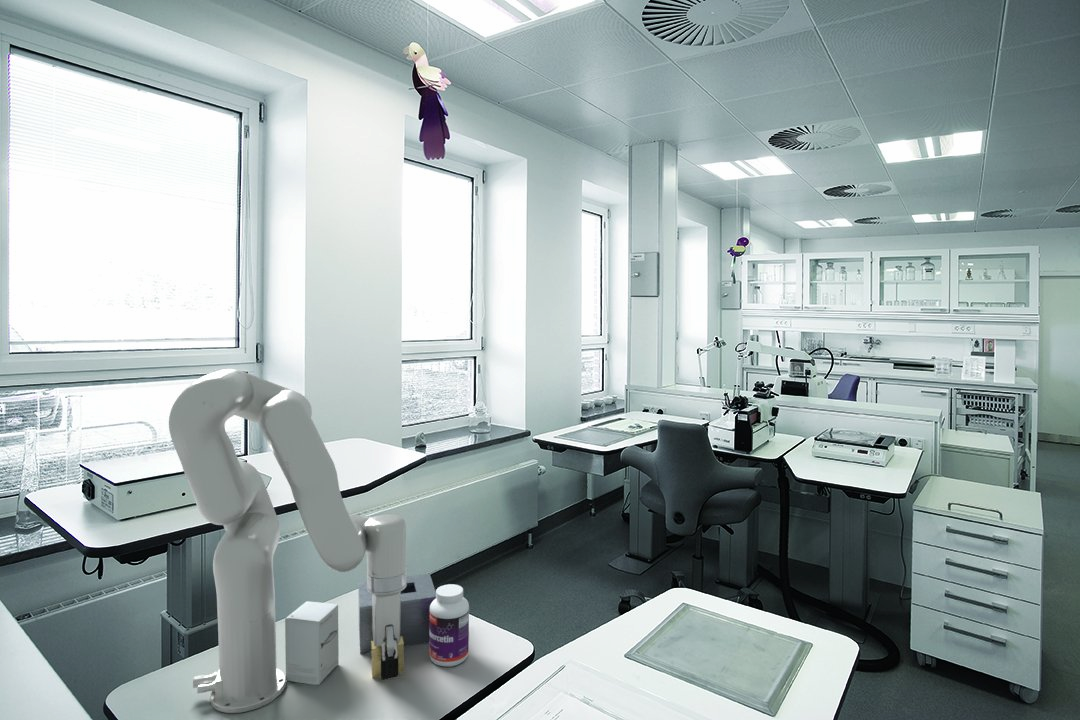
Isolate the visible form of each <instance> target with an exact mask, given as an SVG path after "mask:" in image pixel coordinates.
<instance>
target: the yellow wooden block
mask: <svg viewBox="0 0 1080 720" xmlns="http://www.w3.org/2000/svg"><path fill="white" fill-rule="evenodd" d="M386 641H387V639H384V642H386ZM404 649H405V648H404V643H403V637H402V636H400V641H399V642H398V643H397V656H398V675H400V674H405V665H404V664H405V660H404V659H405V654H404V653H405V651H404ZM386 650H387V646H385V651H386ZM370 653H371V678H372V679H376V678H377V679H378V678H381V658H382V646H378V647H376V646H375V645H374V642H373V641H371V652H370Z"/></svg>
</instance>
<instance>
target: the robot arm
mask: <svg viewBox="0 0 1080 720" xmlns="http://www.w3.org/2000/svg"><path fill="white" fill-rule="evenodd" d="M312 414H313V410H312V406H311V403H310V401H309V399H307V397H306V396H305V395H303V394H301V393H299V392H298V391H295V390H294V389H290V388H288V387H285V386H282V385H279V384H276V383H274V382H272V381H268V380H266V379H264V378H261V377H259V376H256V375H253V374H251V373H249V372H246V371H242V370H239V369H234V368H227V369H226V368H225V369H221V370H218V371H215V372H211V373H207V374H206V375H203V376H202V377H199V378H198V379H196V380H194V382H192V383H191V384H190V385H188V386H187V387H186V388H185V389H184V390H183V391H182V392H181V393H180V394H179V395H178V396H177V398H176V399H175V401H174V403H173V404H172V407H171V409H170V412H169V417H168V431H169V434H170V438H171V441H172V444H173V446H174V449H175V452H176V454H177V456H178V459H179V462H180V463H181V466H182V469H183V473H184V476H185V478H186V480H187V483H188V486H189V488H190V490H191V493H192V496H193V499H194V501H195V504H196V507H197V510H198V511H199V513H200V514H201V516H202V517H203V518H204V519H205V520H206V521H207V522H209V523H210V524H213V525H216V526H223V528H224V531H225V533H224V534H223V535H222V537H221V539H220V540H219V541H218V544H217V546H216V547H215V550H214V555H213V561H212V572H213V573H212V574H213V578H214V584H215V585H214V586H215V591H216V609H217V632H218V639H217V640H218V659H219V660H218V668H219V669H218V671H213V673H211V674H200V675H195V676H194V677H193V681H192V688H193V689H197V692H196V693H197V694H202V693H207V692H210V696H209V697H210V699H209V700H210V705H211V707H212V708H214V710H216V711H218V712H222V713H225V714H226V713H227V714H239V713H247V712H249V711H253V710H256V709H257V710H258V709H259V708H262V707H264V706H266V705H267V704H270V703H271V702H272V701H274V700H275V699H276V698H278V697H279V696H280V695H281V694H282V693H283V691H284V690H285V688H286V683H287V680H286V673H284V672H283V671H282V670H281V669H279V668H277V634H276V633H277V630H276V629H277V628H276V626H277V625H276V593H275V592H276V591H275V588H276V587H275V579H274V556H275V552H276V550H277V547H278V544H279V542H280V537H281V525H280V523H279V519H278V516H277V513H276V511H275V508H274V506H273V502H272V500H271V498H270V495H269V493H268V490H267V487H266V484H265V482H264V479H263V477H262V475H261V474H260V472H259V471H258V470H257V468H255V466H253V465H252V464H250V463H249V462H247V461H244V460H239V459H238V457H237V454H236V451H235V450H236V449H235V448H234V445H233V442H232V440H231V438H230V436H229V435H228V433H227V431H226V428H225V426H226V425H225V424H226V422H227V420H229V419H230V418H232V417H233V416H236V417H240V418H242V419H245V420H248V421H250V422H252V423H253V422H254V423H255V424H258V425H259V428H260V430H261V433H262V435H263V437H264V439H265V440H266V442H267V444H268V446H269V448H270V451H271V452H272V454H273V455H274V459H276V462H277V464H278V466H279V467H280V469H281V471H282V473H283V475H284V476H285V479H286V481H287V482H288V485H289V487H290V490H291V493H292V496H293V499H294V502H295V505H296V506H297V509H298V511H299V514H300V516H301V519H302V521H303V522H302V523H303V525H304V527H305V530H306V531H307V534H308V536H309V538H310V540H311V542H312V544H313V545H314V548H315V549H316V551H317V554H318V555H319V557H320V558H321V560H322V562H323V563H324V564H325V566H327V567H328V568H329V569H331V570H332V571H334V572H338V573H345V572H346V573H347V572H350V571H352V570H354V569H356V568H357V567H358V566H359V565H360V564H361V563H362V561H363V559H364V557H365V554H366V582H367V590H368V592H369V593H371V594H372V631H373V642H374V645H375V646H376V647H378V646H382V658H381V677H380V679H381V680H383V681H384V680H391V679H396V678H398V677H399V674H398V656H397V643H398V642H399V641H400V628H401V591H402V590H404V589H405V588H406V586H407V576H408V575H407V572H408V570H407V522H406V520H405V519H404V517H402V516H401V515H398V514H389V513H388V514H386V513H385V514H380V515H376V516H370V515H369V516H367V515H357V514H356V515H355V514H349V512H348V510H347V508H346V505H345V503H344V500H343V497H342V494H341V490H340V489H341V488H340V485H339V479H338V473H337V469H336V466H335V465H336V464H335V462H334V461H333V458H332V457H331V455H330V453H329V451H328V449H327V447H326V444H325V443H324V441H323V439H322V438H321V435H320V433H319V431H318V429H317V427H316V425H315V423H314V421H313V419H312V416H313V415H312ZM384 639H387V641H386V642H384ZM385 646H387V650H386V651H385Z"/></svg>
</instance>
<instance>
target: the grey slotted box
mask: <svg viewBox="0 0 1080 720" xmlns="http://www.w3.org/2000/svg"><path fill="white" fill-rule="evenodd" d="M357 585H358V589H357V591H358V635H359V636H358V637H359V638H358V639H359V652H360V653H359V654H366V653H371V641H373V631H372V594H371V593H369V592H368V590H367V581H361V582H358V584H357ZM435 599H436V588H435V586H434V583H433V580H432V577H431V574H430V573H425V574H424V573H423V574H415V575H407V586H406V588H405V589H404V590H402V591H401V628H400V636H402V637H403V643H404V647H410V646H416V645H417V646H418V645H422V644H429V627H430V605H431V603H432V601H433V600H435Z"/></svg>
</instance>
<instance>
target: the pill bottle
mask: <svg viewBox="0 0 1080 720" xmlns="http://www.w3.org/2000/svg"><path fill="white" fill-rule="evenodd" d="M435 591H436V599H435V600H433V601H432V603H431V605H430V627H429V643H428V644H429V646H428V648H429V649H428V650H429V651H428V652H429V653H428V655H429V659H430V661H431V662H433V664H434V665H437V666H439V667H455V666H457V665H459V664H462V663H463V662H464V661H465V660H466V659H467V657H468V656H469V653H470V652H469V651H470V650H469V647H470V646H469V645H470V644H469V641H470V639H469V638H470V631H469V630H470V628H469V627H470V605H469V601H468V599H466V598H465V597H464V588H463V587H462V586H461V585H459V584H453V583H452V584H451V583H448V584H444V585H440V586H439V587H437V589H435Z"/></svg>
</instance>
